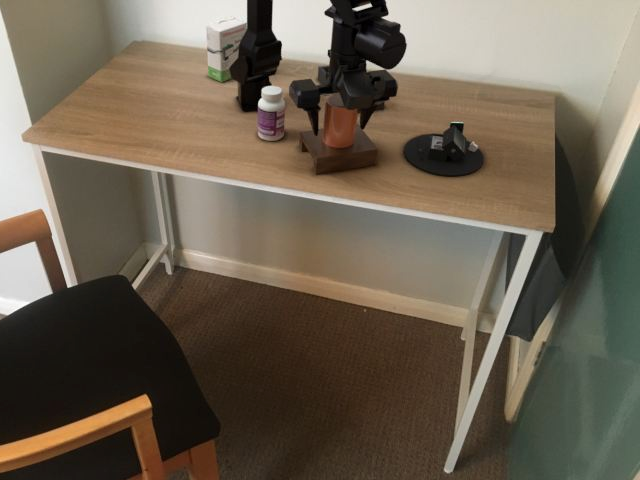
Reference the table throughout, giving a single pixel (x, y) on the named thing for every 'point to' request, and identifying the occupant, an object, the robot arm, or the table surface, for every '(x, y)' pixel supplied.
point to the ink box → (223, 46)
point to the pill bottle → (271, 114)
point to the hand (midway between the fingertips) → (338, 131)
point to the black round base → (444, 153)
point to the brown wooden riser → (338, 152)
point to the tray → (323, 80)
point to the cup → (338, 123)
